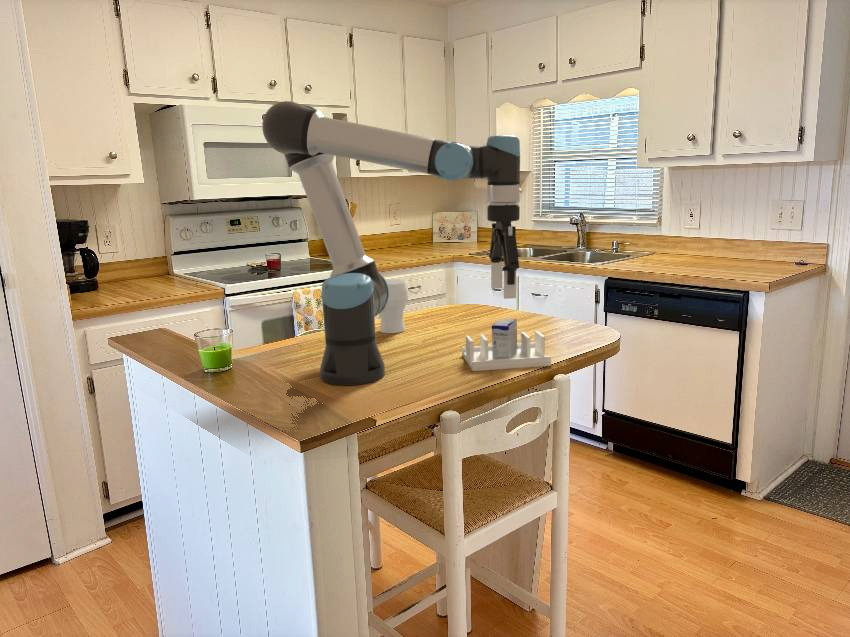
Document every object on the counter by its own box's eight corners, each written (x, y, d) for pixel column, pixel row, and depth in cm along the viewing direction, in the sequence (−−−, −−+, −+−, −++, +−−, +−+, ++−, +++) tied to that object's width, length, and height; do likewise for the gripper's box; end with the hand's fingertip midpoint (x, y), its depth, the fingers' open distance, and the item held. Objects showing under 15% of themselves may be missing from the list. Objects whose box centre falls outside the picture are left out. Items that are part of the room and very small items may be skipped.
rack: (472, 371, 150) (471, 345, 148) (462, 355, 163) (461, 331, 162) (550, 365, 152) (551, 340, 150) (534, 350, 165) (534, 327, 164)
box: (500, 350, 162) (499, 317, 160) (517, 351, 160) (517, 318, 158) (491, 359, 155) (491, 324, 153) (510, 360, 153) (509, 325, 151)
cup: (416, 328, 194) (414, 279, 191) (396, 336, 186) (394, 285, 182) (388, 325, 200) (386, 278, 197) (367, 332, 191) (364, 283, 188)
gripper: (533, 205, 138) (532, 302, 142) (506, 201, 162) (506, 284, 166) (499, 206, 137) (499, 303, 141) (477, 202, 161) (477, 285, 166)
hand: (503, 293), depth 154 cm, fingers open, 13 cm apart
